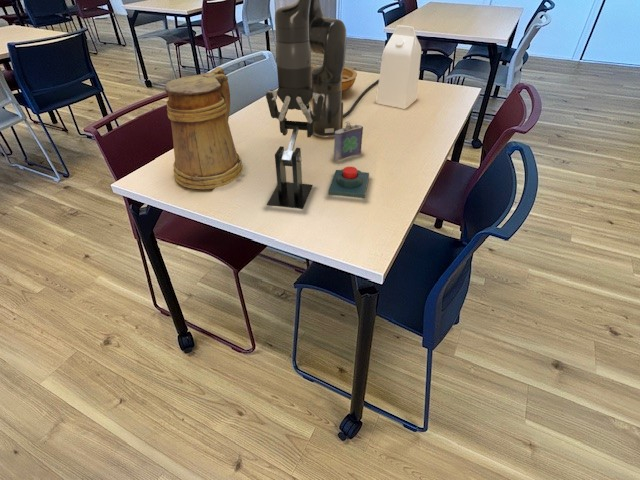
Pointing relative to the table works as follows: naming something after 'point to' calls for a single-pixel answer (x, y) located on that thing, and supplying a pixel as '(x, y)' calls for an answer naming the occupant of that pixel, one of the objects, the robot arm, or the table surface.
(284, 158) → the lever
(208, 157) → the tankard
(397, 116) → the table surface
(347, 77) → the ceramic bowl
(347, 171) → the button
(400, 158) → the table surface
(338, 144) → the flask
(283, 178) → the bracket
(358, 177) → the button box
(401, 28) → the milk
